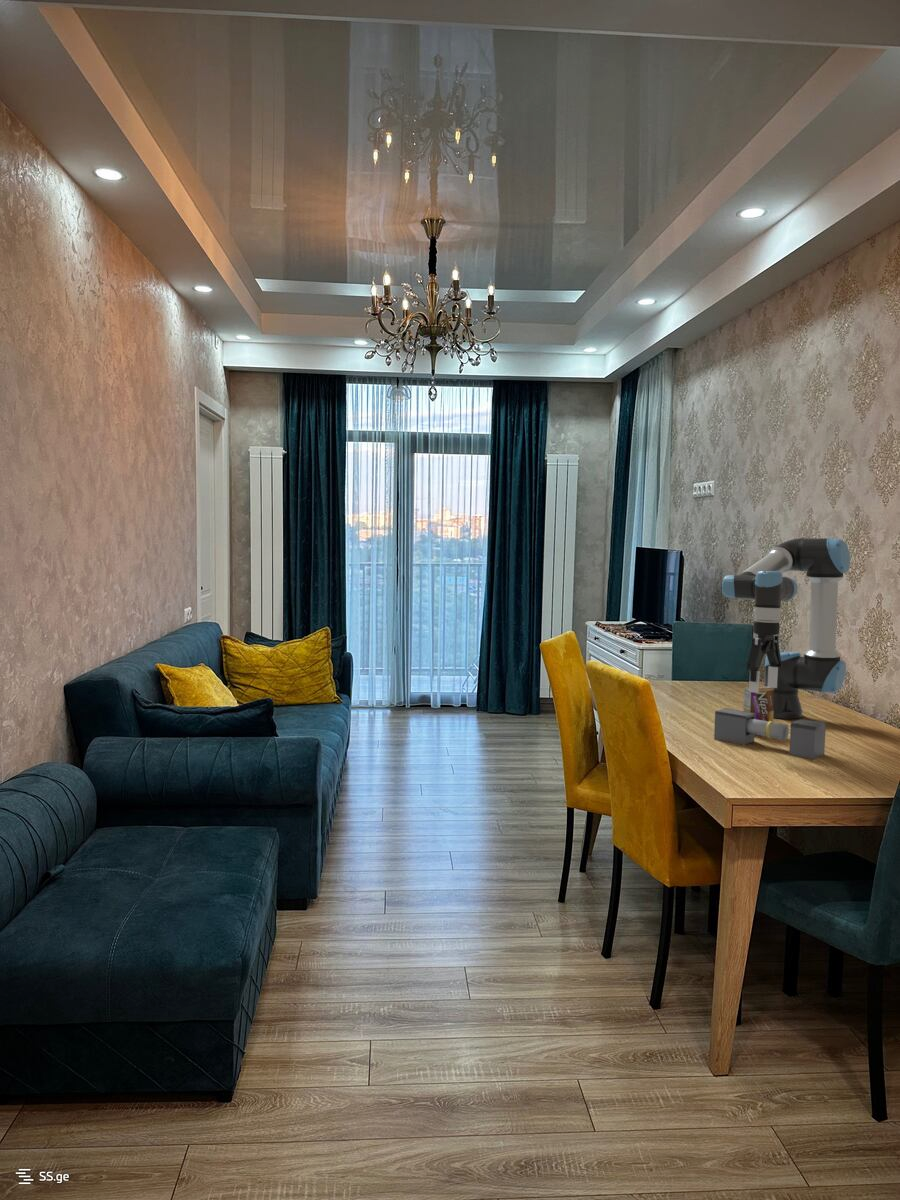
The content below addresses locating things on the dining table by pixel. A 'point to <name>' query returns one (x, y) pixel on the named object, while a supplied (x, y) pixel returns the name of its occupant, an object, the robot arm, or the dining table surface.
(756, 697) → the candy box
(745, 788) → the dining table surface
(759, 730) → the tube
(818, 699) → the dining table surface
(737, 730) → the sleeve
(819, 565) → the robot arm
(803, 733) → the socket
